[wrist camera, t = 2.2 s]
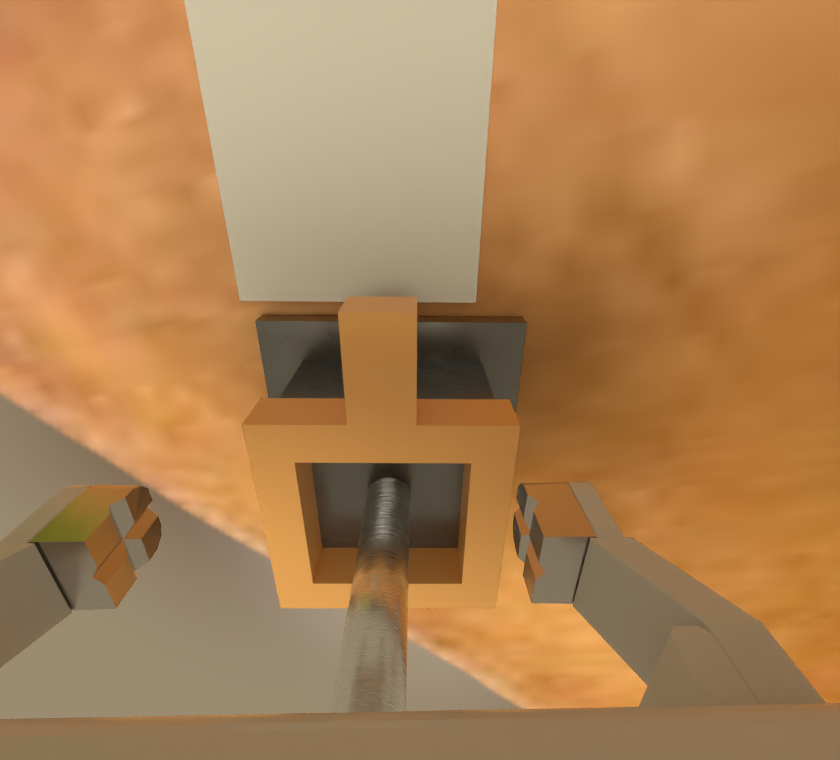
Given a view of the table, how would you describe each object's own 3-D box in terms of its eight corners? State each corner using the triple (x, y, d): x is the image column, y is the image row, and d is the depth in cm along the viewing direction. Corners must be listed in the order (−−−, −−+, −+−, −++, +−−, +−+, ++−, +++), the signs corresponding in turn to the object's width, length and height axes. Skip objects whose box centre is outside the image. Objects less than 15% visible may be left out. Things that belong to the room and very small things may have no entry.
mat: (495, -1, 19) (497, -6, 18) (474, 300, 25) (475, 302, 24) (188, -6, 19) (182, -10, 18) (243, 298, 25) (240, 301, 24)
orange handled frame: (521, 297, 18) (536, 314, 16) (488, 571, 25) (495, 608, 23) (242, 295, 18) (217, 311, 15) (292, 571, 25) (280, 608, 23)
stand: (522, 316, 25) (770, 638, 8) (498, 513, 32) (597, 921, 14) (262, 314, 25) (-113, 638, 7) (294, 512, 32) (142, 923, 14)
